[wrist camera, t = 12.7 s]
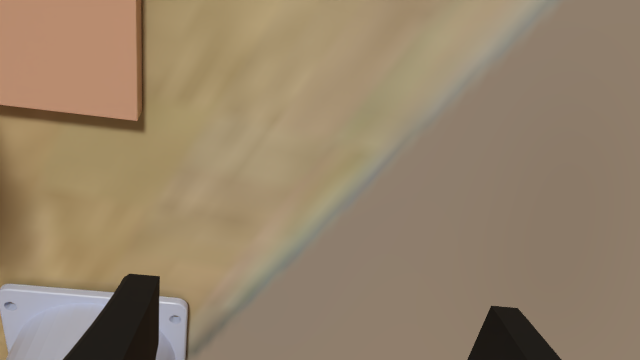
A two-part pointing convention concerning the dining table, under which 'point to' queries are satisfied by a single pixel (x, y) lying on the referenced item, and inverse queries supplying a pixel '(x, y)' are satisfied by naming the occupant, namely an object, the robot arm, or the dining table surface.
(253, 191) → the dining table surface
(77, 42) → the coaster
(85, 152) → the dining table surface
